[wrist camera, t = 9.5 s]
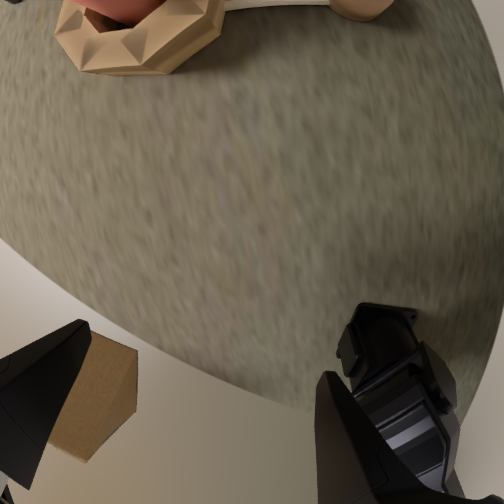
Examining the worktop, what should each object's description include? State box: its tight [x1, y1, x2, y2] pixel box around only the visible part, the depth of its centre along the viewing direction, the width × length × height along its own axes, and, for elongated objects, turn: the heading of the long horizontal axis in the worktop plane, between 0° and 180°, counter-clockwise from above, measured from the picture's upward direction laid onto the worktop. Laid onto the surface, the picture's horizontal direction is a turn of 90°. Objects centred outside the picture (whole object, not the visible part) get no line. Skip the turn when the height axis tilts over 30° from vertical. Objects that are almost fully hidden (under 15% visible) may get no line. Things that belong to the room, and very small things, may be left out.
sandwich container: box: [47, 330, 138, 463], centre depth 25 cm, size 9×15×15 cm, turn 162°
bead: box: [54, 0, 228, 76], centre depth 12 cm, size 11×11×4 cm
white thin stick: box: [224, 0, 330, 11], centre depth 13 cm, size 12×1×1 cm, turn 96°
